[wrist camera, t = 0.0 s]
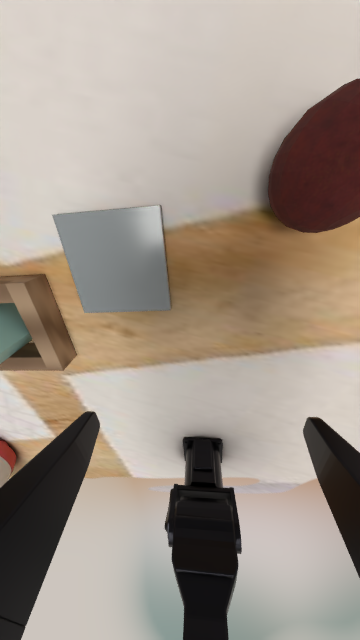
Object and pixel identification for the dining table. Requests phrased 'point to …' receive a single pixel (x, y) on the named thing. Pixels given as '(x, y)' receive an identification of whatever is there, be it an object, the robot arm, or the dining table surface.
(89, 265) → the slate coaster
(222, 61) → the dining table surface
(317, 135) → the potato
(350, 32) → the dining table surface
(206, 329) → the dining table surface
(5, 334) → the teal block
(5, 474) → the citrus juicer
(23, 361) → the walnut pocket
